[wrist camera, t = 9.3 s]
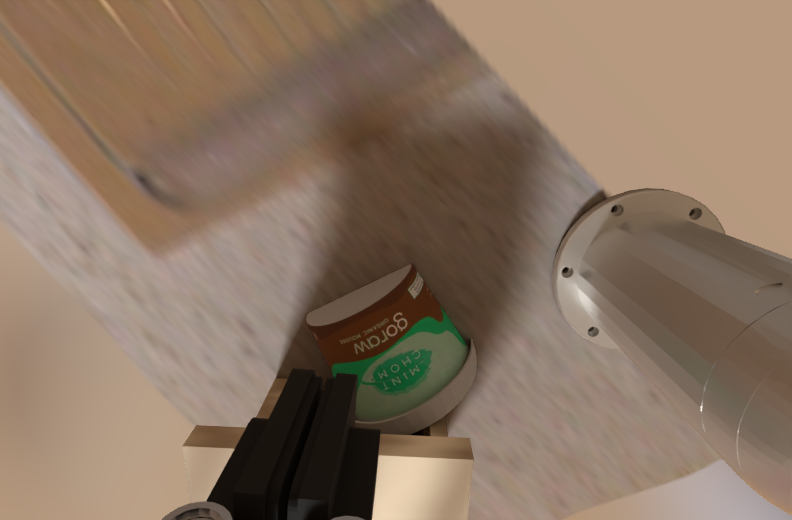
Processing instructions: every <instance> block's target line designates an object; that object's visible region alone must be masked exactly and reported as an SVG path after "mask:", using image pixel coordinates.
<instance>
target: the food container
mask: <svg viewBox="0 0 792 520" xmlns="http://www.w3.org/2000/svg"><path fill="white" fill-rule="evenodd" d="M306 322H307V324H308V326H309V328H310V330H311V332H312V334H313V336H314V338H315V340H316V342H317V344H318V346H319V348H320V350H321V352H322V354H323V356H324V358H325V360H326V362H327V364H328V366H329V368H330V370H331V372H332V374H333V376H334V378H335V376H336V374H337V373H346V374H357V375H358V384H357V399H356V414H355V426H356V427H357V428H367V429H377V430H381V434H393V435H409V434H411V433H414V432H417V431H419V430H421V429H424V428H426V427H428V426H430V425H431V424H433V423H435V422H436V421H438V420H439V419H441V418H442V417H443V416H445V415H446V414H448V413H449V412H450V411H451V410H452V409H453V408H454V407H455V406H457V405H458V403H459V402H460V401H461V400H462V399H463V398H464V397H465V395H466V394H467V392H468V391H469V390H470V388H471V386H472V384H473V382H474V380H475V377H476V373H477V355H476V350H475V346H474V343H473V339H472V338H471V349H470V348H469V347H468V345H467V344H466V342H465V341H464V340H463V338H462V337H461V335H460V334H459V332H458V331H457V329H456V328H455V326H454V325H453V323H452V322H451V320H450V319H449V317H448V316H447V314H446V313H445V311H444V310H443V308H442V307H441V306H440V304H439V303H438V301H437V300H436V298H435V297H434V295H433V294H432V292H431V291H430V289H429V288H428V286H427V285H426V283H425V282H424V280H423V279H422V277H421V276H420V275H419V273H418V272H417V270H416V269H415V267H414V266H413V264H412V263H411V264H409V265H407V266H405V267H403V268H401V269H399V270H397V271H395V272H392V273H390V274H388V275H386V276H384V277H382V278H380V279H378V280H376V281H374V282H372V283H370V284H367V285H365V286H363V287H361V288H359V289H357V290H355V291H353V292H351V293H349V294H347V295H345V296H343V297H340V298H338V299H336V300H334V301H332V302H330V303H328V304H326V305H324V306H322V307H320V308H318V309H315V310H313V311H311V312H309V313H308V314H307V317H306Z"/></svg>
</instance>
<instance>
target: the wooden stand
mask: <svg viewBox="0 0 792 520" xmlns="http://www.w3.org/2000/svg"><path fill="white" fill-rule="evenodd" d="M287 380H288V379H284V378H276V379H275V381H274V383H273V385H272V387H271V389H270V391H269V393H268V395H267V397H266V399H265V401H264V403H263V405H262V407H261V409H260V411H259V413H258V415H257V417H256V418H265V419H269V417H270V415H271V413H272V411H273V408H274V406H275V404H276V402H277V400H278V398H279V396H280V394H281V392H282V390H283V388H284V386H285V384H286V382H287ZM245 429H246V428H242V427H221V426H199V425H196V427H195V428H194V430H193V431H192V433H191V434H190V436H189V437H188V439H187V440H186V442H185V443H184V445H183V446H182V447H183V454H184V462H185V469H186V476H187V484H188V491H189V498H190V503H195V502H202V501H205V502H206V500H207V498H208V497H209V495H210V493H211V491H212V489H213V487H214V486H215V484H216V482H217V480H218V478H219V477H220V475H221V473H222V471H223V469H224V467H225V466H226V464H227V462H228V460H229V458H230V456H231V455H232V453H233V451H234V449H235V447H236V445H237V444H238V442H239V440H240V438H241V436H242V434H243V433H244V431H245ZM473 463H474V458H473V453H472V448H471V443H470V438H457V437H448V435H447V428H446V420H445V416H443V417H442V418H441V419H439V420H438V421H436V422H435V423H433V424H431V425H430V426H428V427H426V428H424V431H423V436H414V435H393V434H380V446H379V457H378V468H377V478H376V488H375V497H374V506H373V516H372V520H467V514H468V506H469V497H470V489H471V480H472V471H473Z"/></svg>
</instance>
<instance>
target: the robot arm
mask: <svg viewBox="0 0 792 520" xmlns="http://www.w3.org/2000/svg"><path fill="white" fill-rule="evenodd" d="M613 206H615V209H614V210H613V211H611V209H612V207H613ZM690 211H691V212H690ZM565 267H566V270H565V271H562V270H563V269H564V268H565ZM552 287H553V292H554V297H555V301H556V303H557V305H558V307H559V310H560V312H561V313H562V315H563V316H564V318H565V319H566V320H567V322H568V323H569V324H570V325H571V326H572V327H573V328H574V329H575V331H576V332H577V333H579V334H580V335H581V336H583V337H584V338H585V339H587V340H589V341H591V342H593V343H595V344H598V345H600V346H602V347H607V348H611V349H616V350H622V351H623V352H624V353H625V354H626V356H627V357H628V358H629V359H630V360H631V361H632V362H633V363H634V364H635V365H636V366H637V367H638V368H639V370H640V371H641V372H642V373H643V374H644V375H645V376H646V377H647V378H648V379H649V380H650V381H651V383H652V384H653V385H654V386H655V387H656V388H657V389H658V390H659V391H660V392H661V393H662V394H663V395H664V397H665V398H666V399H667V400H668V401H669V402H670V403H671V404H672V405H673V406H674V407H675V408H676V410H677V411H678V412H679V413H680V414H681V415H682V416H683V417H684V418H685V419H686V420H687V421H688V422H689V424H690V425H691V426H692V427H693V428H694V429H695V430H696V431H697V432H698V433H699V434H700V435H701V436H702V438H703V439H704V440H705V441H706V442H707V443H708V444H709V445H710V446H711V447H712V448H713V449H714V451H715V452H716V453H717V454H718V455H719V456H720V457H721V458H722V459H723V460H724V461H725V462H726V463H727V464H728V465H729V466H730V467H731V468H732V469H733V471H734V472H735V473H736V474H737V475H738V476H739V477H740V478H741V479H742V480H743V481H745V483H746V484H748V485H749V486H750V487H751V488H752V489H753V490H754V491H756V492H757V493H758V494H759V495H761V496H762V497H763V498H764V499H766V500H767V501H768V502H770V503H772V504H773V505H775V506H776V507H778V508H780V509H781V510H783V511H785V512H786V513H788V514H790V515H792V259H790V258H788V257H785V256H782V255H779V254H777V253H774V252H771V251H769V250H766V249H763V248H761V247H758V246H755V245H752V244H750V243H747V242H744V241H741V240H738V239H736V238H733V237H731V236H728V235H726V234H725V231H724V229H723V227H722V226H721V224H720V222H719V221H718V219H717V218H716V216H715V215H714V214H713V213H712V212H711V211H710V210H709V209H708V208H707V207H706V206H705V205H703V204H701V203H700V202H698V201H697V200H695V199H693V198H691V197H688V196H686V195H683V194H680V193H677V192H673V191H669V190H664V189H647V188H646V189H639V190H631V191H627V192H624V193H621V194H618V195H615V196H612V197H610V198H608V199H606V200H604V201H602V202H600V203H599V204H597V205H595V206H594V207H593V208H591V209H590V210H589V211H587V212H586V213H585V214H584V215H582V216H581V217H580V218H579V220H578V221H577V222H576V223H575V224H574V225H573V226H572V227H571V228H570V230H569V231H568V233H567V234H566V236H565V237H564V239H563V241H562V242H561V245H560V247H559V249H558V252H557V254H556V257H555V261H554V266H553V271H552ZM589 328H590V329H589ZM357 384H358V375H357V374H346V373H337V374H336V376H335V378H329V377H328V379H327V381H326V384H325V387H324V390H323V393H322V377H318V376H316V374H315V370H305V369H295V368H294V369H293V370H292V372H291V374H290V376H289V378H288V380H287V382H286V384H285V386H284V388H283V390H282V392H281V394H280V396H279V398H278V400H277V402H276V404H275V406H274V408H273V411H272V413H271V415H270V417H269V419H265V418H255V417H254V418H252V419H251V421H250V422H249V423H248V425H247V427H246V429H245V431H244V433H243V434H242V436H241V438H240V440H239V442H238V444H237V445H236V447H235V449H234V451H233V453H232V455H231V456H230V458H229V460H228V462H227V464H226V466H225V467H224V469H223V471H222V473H221V475H220V477H219V478H218V480H217V482H216V484H215V486H214V487H213V489H212V491H211V493H210V495H209V497H208V498H207V500H206V502H205V501H202V502H195V503H190V504H187V505H184V506H182V507H179V508H177V509H175V510H174V511H172V512H171V513H169V514H168V515H166V516H165V517H164V518H163V519H162V520H372V516H373V506H374V497H375V488H376V478H377V468H378V457H379V446H380V434H381V430H377V429H367V428H357V427H355V414H356V399H357Z"/></svg>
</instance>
